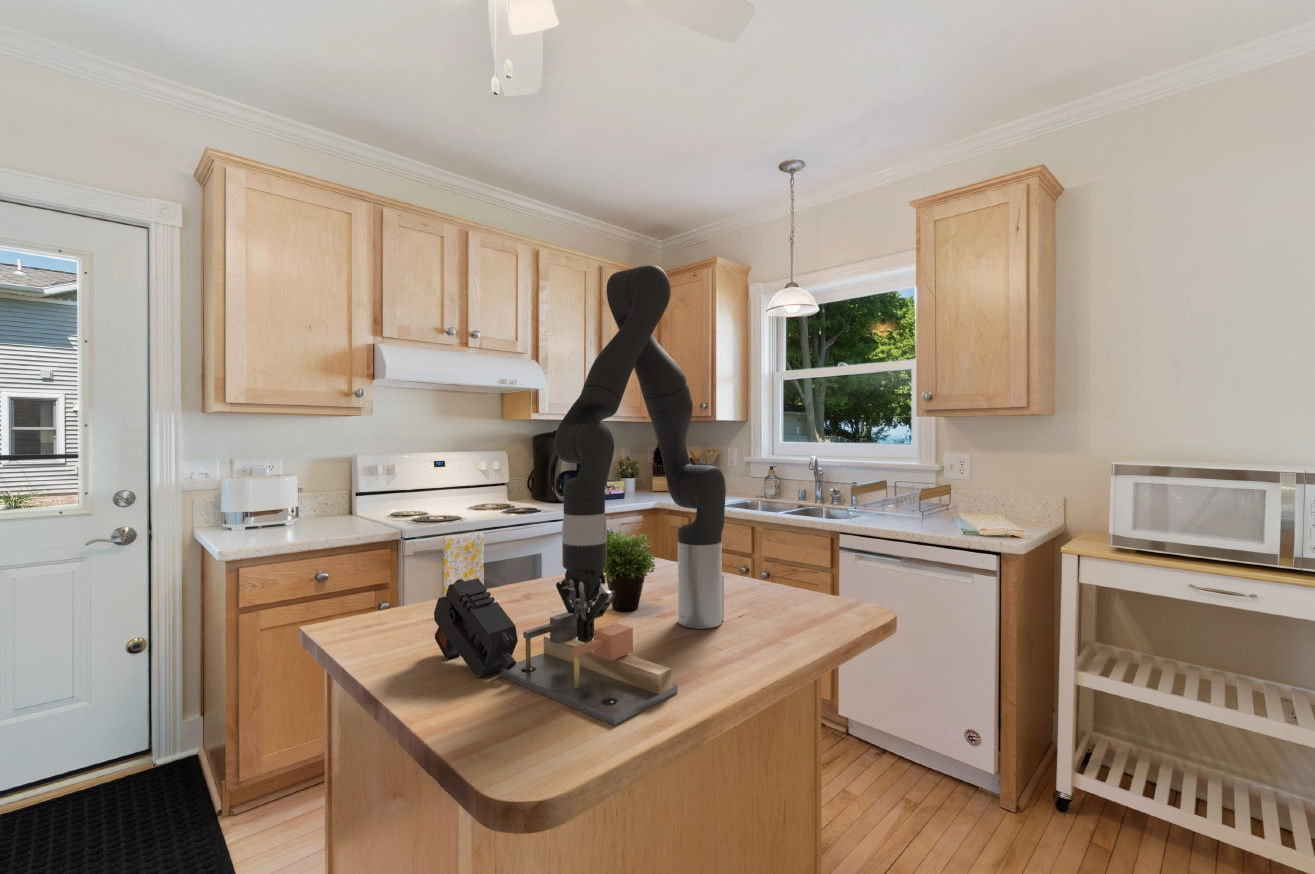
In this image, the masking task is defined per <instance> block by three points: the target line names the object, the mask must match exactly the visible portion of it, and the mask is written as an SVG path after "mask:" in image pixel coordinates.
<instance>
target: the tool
mask: <svg viewBox="0 0 1315 874" xmlns="http://www.w3.org/2000/svg"><path fill="white" fill-rule="evenodd" d="M487 590H488V588H487V587H486V586H485V585H484V583H483V582H482V581H481V579H480V578H473V579H469V580H464V579H463V578H459V579H456V581H454V583H451V584H448V587H447V590H446V593H445V596H441V597H438V599H437V601H436V605H435V608H434V610H433V611H434V612H433V617H434V622H435V624H436V625H437V626H438V627H437V629H436V631H435V633H434V640H435V642H436V643H437V646H438V647H439V649H440V651H441V653H442V655H443V656H444V658H445V660H449V659H453V658H455V657H458V656H460V657H461V658H462V660H463V661H464V663H465V664H466V665H467V666H468V668H469V669H470V670H471V672H472V673H473V675H474V676H475V677H476V678H482V677H484V676H486V675H490V674H492V673H495V672H499V669H500V668H502V667H504V668H505V669H506V670H510V669H512V668H513V667H514V666H515V664H516V663H517V661H516V660H515V658H514V657H513V654H514V651H515V649H516V646H517V645H518V641H519V639H518V634H517V633H518V632H517V628H516V624H515V623H514V622H513V620H512V619H511V618H510V616H509V615H508V614H507V612H506V611H505V610H504V609H503V608H502V606H501V605H500V603H498V601H495V600H496V599H495V597H494V596H491V595H492V594H491V592H490V591H487Z"/></svg>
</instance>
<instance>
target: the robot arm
mask: <svg viewBox="0 0 1315 874" xmlns="http://www.w3.org/2000/svg"><path fill="white" fill-rule="evenodd" d="M671 288H672V286H671V282H670V279H669V276H668V275H667V272H666V271H664V270H663V269H662V267H660V266H657V265H655V264H650V265H648V264H647V265H641V266H637V267H633V268H629V269H624V270H620V271H616V272H614V273H613V274H611V275H610V277H609V278H608V280H607V283H606V291H605V293H606V298H607V303H608V306H609V308H610V312H611V315H612V317H613V319H614V321H615V324H616V326H617V329H618V331H617V332H616V333H615V335H614V336H613V338H611V340H610V341H609V342H608V343H607V344H606V345H605V347H604V348H603V349H602V350H601V351H600V353H599V354H598V356H597V357H596V358H595V359H594V361H593V363H592V365H591V367H590V368H589V372H588V374H587V377H586V379H585V381H584V384H583V386H582V390H581V392H580V395H579V397H578V398H577V399H576V400H575V402H574V403H573V404H572V405H571V407H570V409H568V411H567V413H566V414H565V416H564V417H563V418H562V420H561V422H560V423H559V425H558V427H557V429H556V432H555V435H554V442H553V444H554V450H555V453H556V455H557V457H558V459H560V460H562V461H563V462H565V463H570V464H580V467H579V470H578V473H577V477H572V478H570V479H568V480H566V481H565V482H564V485H563V519H562V531H561V536H562V537H561V538H562V539H561V540H562V541H561V543H562V544H561V546H562V547H561V548H562V551H561V552H562V553H561V554H562V567H563V569H565V570H566V571H565V573H564V578H563V579H562V580H561V581H559V582H556V583H555V588H556V590H557V591H558V593H559V596H560V598H561V600H562V602H563V605H564V607H565V608H566V612H568V613H569V614H571V613H572V614H574V617H575V619H577V637H576V638H578V641H581V642H584V643H587V642H590V641H592V640H594V630H595V619H597V618H601V617H604V615H605V613H606V611H608V608H609V607H610V605H611V604H612V602H613V601H614V600H615V598H616V596H617V593H616V591H615V590H614V589H612V590H610V589H609V587H607V586H606V577H605V573H604V570H605V568H606V566H607V564H608V546H607V545H608V542H607V540H608V535H607V532H608V526H607V525H608V524H607V520H606V486H607V482H608V479H609V474H610V471H611V467H612V462H613V459H614V453H615V440H614V437H613V433H612V432H611V429H610V428H609V427H608V426H607V425H606V424H604V423H602V421H603V420H606V419H608V418H611V417H613V416H614V415H616V413H617V412H618V410H619V407H620V405H621V402H622V400H623V396H624V394H625V391H626V388H627V385H628V383H629V380H630V379H631V375H632V373H633V371H634V372H635V374H636V378H637V380H638V383H639V387H640V391H641V395H642V398H643V400H644V404H645V408H646V411H647V412H648V416H649V419H650V421H651V424H652V426H653V430H654V433H655V436H656V440H657V445H658V449H659V452H660V455H661V461H662V464H663V469H664V474H665V478H666V484H667V488H668V491H669V494H670V498H671V499H672V500H673V502H674V504H676V505H677V506H678V507H681V508H686V509H693V510H696V513H695V518H694V521H693V520H692V522H690V523H688V524H685V525H682V526H680V527H679V528H678V529H677V530H678V531H677V596H678V597H677V607H678V608H677V615H678V616H677V623H678V624H679V625H680V626H682V627H685V628H690V629H697V630H698V629H700V630H704V629H705V630H706V629H711V628H713V629H714V628H716V627H719V626H721V625H722V623H723V620H725V584H724V583H725V577H724V575H723V574H722V572H723V568H722V565H723V564H722V563H723V562H722V561H723V558H722V555H723V554H722V553H723V552H722V550H723V549H722V548H723V547H722V544H723V543H722V540H723V539H722V535H723V531H724V527H725V516H726V515H725V512H726V509H725V508H726V495H727V494H726V493H727V492H726V491H727V490H726V489H727V488H726V480H725V475H724V473H723V471H722V470H721V468H719V467H717V466H714V465H702V464H701V465H699V464H698V465H697V464H693V463H692V462H691V460H690V457H689V454H688V449H687V444H686V442H687V441H686V439H687V435H688V430H689V427H690V423H691V421H692V416H693V411H694V404H693V403H694V402H693V399H692V396H691V392H690V388H689V386H688V385H689V384H688V381H687V378H686V376H685V373H684V372H683V370H682V369H681V367H680V366H679V364H677V362H676V361H675V360H674V359H673V358H672V357H671V355H669V353H667V351H666V350H665V349H664V348H663V347H662V346H661V345H660V343H659V342H658V340H657V339H656V338H655V336H654V335H653V333H654V331H655V329H656V327H657V325H658V324H659V322H660V320H661V319H662V317H663V315H664V313H665V311H666V310H667V307H668V305H669V303H670V299H671V293H672V292H671V291H672V289H671Z"/></svg>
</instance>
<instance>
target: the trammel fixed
mask: <svg viewBox="0 0 1315 874" xmlns="http://www.w3.org/2000/svg"><path fill="white" fill-rule="evenodd" d="M548 633H549V634H548ZM545 634H546V635H545ZM522 635H523V639H525V659H526V668H531V657H532V655H531V654H532V653H531V651H532V650H531V646H532V645H531V643H532V641H531V639H533V638H535V637H539V636H542V635H543V653H546V654H549V655H551V656H554V657H557V658H560V659H562V660H565V661H568V662H571V663H573V664H574V655H572V648H573V647H576V646H579V645H581V644H584V642H581V641H578V637H577V619H575V617H574V614H572V613H571V614H569V613H568V611H566V612H563V613H560V614H556V615H554V616H549V623H547V624H544V625H540V626H537V627H534V628H530V629H528V630H523V632H522ZM579 666H582V667H584V668H587V669H590V670H593V671H595V672H598V673H601V674H604V675H606V676H609V677H612V678H615V679H617V680H620V681H623V682H626V683H629V684H631V685H634V686H637V687H640V688H642V689H645V690H648V691H651V692H653V693H656V694H661V693H663V692H665V691H667V690H669V689H671V688H672V683H673V681H672V676H673V675H672V674H673V673H672V668H670V667H667V666H664V665H662V664H658V663H655V662H653V661H649V660H646V659H642V658H639V657H636V656H634V655H630V654H627V655H625V656H622V657H620V658H617V659H615V660H612V661H610V660H607V659H604V658H602V657H599V656H596V655H594V650H592V651H590V652H587V653H585V654H582V655H579Z"/></svg>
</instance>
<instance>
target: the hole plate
mask: <svg viewBox="0 0 1315 874" xmlns="http://www.w3.org/2000/svg"><path fill="white" fill-rule="evenodd" d="M498 677H501V678H503V679H505V680H508V681H510V682H512V683H515V684H516V685H519V686H521V687H524V688H526V689H528V690H531V691H533V692H535V693H538V694H540V695H542V696H544V697H547V698H549V699H550V700H551V699H552V700H553V701H555V702H558V703H561V704H563V705H565V706H568V707H570V708H573V709H575V710H577V711H579V712H582V713H583V714H586V715H588V716H591V717H594V718H595V719H598V720H599V721H603V722H605V723H607V724H609V725H611V726H614V727H615V726H617V725H619V724H620V723H623V722H624V721H627V720H628V719H630V718H632V717H635V716H636V715H638V714H640V713H641V712H644V711H646V710H647V709H650V708H651V707H653V706H654V705H657V704H659V703H661V702H663V701H665V700H666V699H669V698H670V697H672V696H674V695H676V694H678V693H679V692H678V690H679V688H678V684H676V683H674V682H672V688H671V689H669V690H667V691H665V692H663V693H661V694H656V693H653V692H651V691H648V690H645V689H642V688H640V687H637V686H634V685H631V684H629V683H626V682H623V681H620V680H617V679H615V678H612V677H609V676H606V675H604V674H601V673H598V672H595V671H593V670H590V669H587V668H584V667H582V666H580V687H579V688H575V687H574V664H573V663H571V662H568V661H565V660H562V659H560V658H557V657H554V656H551V655H549V654H546V653H544V652H542V653H539V654H537V655H534V656H531V668H526V658H525V659H522V660H520V661H516V664H515V666H514V667H513V668H512V669H510V670H506V669H505V668H504V667H502V668H500V669H499V670H498Z"/></svg>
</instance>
